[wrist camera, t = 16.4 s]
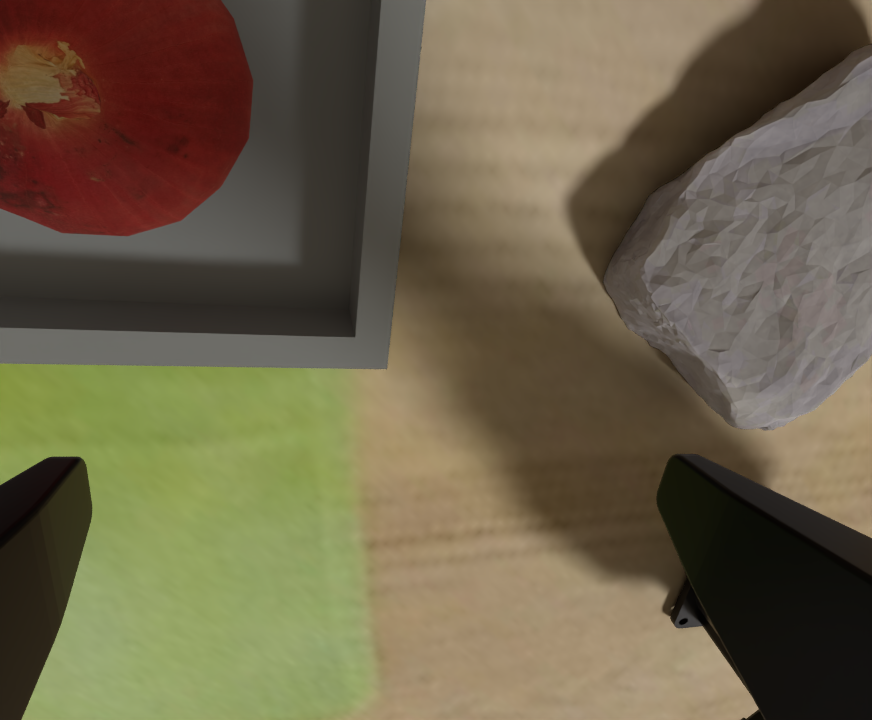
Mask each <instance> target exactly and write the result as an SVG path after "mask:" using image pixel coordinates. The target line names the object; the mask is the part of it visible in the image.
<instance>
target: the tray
mask: <svg viewBox="0 0 872 720" xmlns="http://www.w3.org/2000/svg"><path fill="white" fill-rule="evenodd" d="M221 1H222V2H223V4H224V5H225V7H226V8H227V10H228V11H229V12H230V14H231V15H232V17H233V18H234V21H235V24H236V27H237V30H238V34H239V37H240V40H241V43H242V46H243V49H244V53H245V56H246V59H247V62H248V65H249V68H250V72H251V75H252V78H253V92H252V106H251V119H250V132H249V139H248V141H247V143H246V145H245V146H244V148H243V150H242V152H241V153H240V155H239V157H238V159H237V160H236V162H235V164H234V166H233V167H232V169H231V171H230V173H229V174H228V176H227V178H226V180H225V181H224V183H223V185H222V186H221V187H220V188H219V189H218V190H217V191H216V192H215V193H213V194H212V195H211V196H210V197H209V198H208V199H206V200H205V201H204V202H203V203H202V204H200V205H199V206H198V207H197V208H196V209H194V210H193V211H192V212H191V213H190V214H188V215H187V216H186V217H185V218H184V219H183V220H181V221H179V222H175V223H172V224H169V225H165V226H162V227H158V228H155V229H151V230H148V231H144V232H141V233H137V234H134V235H131V236H110V235H89V234H68V233H60V232H58V231H55V230H53V229H51V228H48V227H46V226H43V225H41V224H38V223H36V222H33V221H31V220H28V219H26V218H24V217H21V216H18V215H16V214H13V213H11V212H8V211H5V210H3V209H0V363H12V364H78V365H144V366H210V367H276V368H343V369H387V364H388V354H389V345H390V335H391V326H392V317H393V307H394V298H395V288H396V279H397V269H398V260H399V250H400V241H401V231H402V222H403V213H404V203H405V194H406V184H407V175H408V165H409V156H410V146H411V137H412V127H413V118H414V109H415V99H416V90H417V80H418V71H419V61H420V52H421V42H422V33H423V23H424V14H425V5H426V0H221Z"/></svg>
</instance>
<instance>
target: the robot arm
mask: <svg viewBox="0 0 872 720" xmlns="http://www.w3.org/2000/svg"><path fill="white" fill-rule="evenodd" d="M656 500H657V506H658V509H659V512H660V514H661V516H662V519H663V521H664V523H665V526H666V528H667V530H668V533H669V535H670V537H671V540H672V542H673V544H674V547H675V549H676V551H677V554H678V556H679V558H680V561H681V563H682V565H683V568H684V570H685V572H686V574H687V580H686V582H685V584H684V586H683V589H682V591H681V593H680V596H679V598H678V600H677V603H676V605H675V607H674V610H673V612H672V614H671V617H670V619H671V621H672V623H673V624H674V626H675V627H676V628H688V627H698V626H703V627H704V629H705V630H706V631H707V633H708V634H709V636H710V637H711V639H712V640H713V641H714V643H715V644H716V646H717V647H718V649H719V650H720V651H721V653H722V654H723V656H724V657H725V659H726V660H727V661H728V663H729V664H730V666H731V667H732V668H733V670H734V671H735V673H736V674H737V676H738V677H739V678H740V680H741V681H742V683H743V684H744V686H745V687H746V688H747V690H748V691H749V693H750V694H751V696H752V697H753V699H754V701H755V703H756V705H757V706H758V708H759V710H757V711H756V712H755V713H753V714H752V715H751V716H749V717H748V718H747V719H745V718H742V719H741V720H872V538H870V537H868V536H866V535H864V534H862V533H860V532H858V531H856V530H853V529H851V528H849V527H847V526H845V525H843V524H841V523H839V522H837V521H835V520H833V519H831V518H828V517H826V516H824V515H822V514H820V513H818V512H816V511H814V510H812V509H810V508H808V507H806V506H804V505H801V504H799V503H797V502H795V501H793V500H791V499H789V498H787V497H785V496H783V495H781V494H779V493H776V492H774V491H772V490H770V489H768V488H766V487H764V486H762V485H760V484H758V483H756V482H754V481H752V480H749V479H747V478H745V477H743V476H741V475H739V474H737V473H735V472H733V471H731V470H729V469H727V468H724V467H722V466H720V465H718V464H716V463H714V462H712V461H710V460H708V459H706V458H704V457H702V456H699V455H696V454H675V455H673V456H672V457H671V458H670V459H669V460H668V462H667V465H666V468H665V471H664V474H663V477H662V479H661V482H660V485H659V488H658V491H657V496H656ZM91 518H92V501H91V494H90V487H89V480H88V474H87V467H86V464H85V462H84V460H83V459H82V458H80V457H49V458H46V459H44V460H43V461H41V462H39V463H37V464H36V465H34V466H32V467H31V468H29V469H27V470H25V471H24V472H22V473H20V474H19V475H17V476H15V477H13V478H12V479H10V480H8V481H7V482H5V483H3V484H2V485H0V720H21V719H22V717H23V715H24V712H25V710H26V707H27V705H28V703H29V700H30V698H31V696H32V693H33V691H34V688H35V686H36V684H37V681H38V679H39V677H40V674H41V672H42V670H43V667H44V665H45V662H46V660H47V658H48V655H49V653H50V651H51V648H52V646H53V643H54V641H55V638H56V636H57V633H58V631H59V628H60V626H61V623H62V619H63V616H64V613H65V610H66V607H67V603H68V600H69V596H70V593H71V589H72V586H73V582H74V579H75V575H76V572H77V568H78V565H79V561H80V558H81V554H82V551H83V547H84V544H85V540H86V537H87V533H88V530H89V526H90V523H91Z"/></svg>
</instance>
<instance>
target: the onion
mask: <svg viewBox="0 0 872 720" xmlns="http://www.w3.org/2000/svg"><path fill="white" fill-rule="evenodd" d="M252 92H253V78H252V75H251V72H250V68H249V65H248V62H247V59H246V56H245V53H244V49H243V46H242V43H241V40H240V37H239V34H238V30H237V27H236V24H235V21H234V18H233V17H232V15H231V14H230V12H229V11H228V10H227V8H226V7H225V5H224V4H223V2H222V1H221V0H0V209H3V210H5V211H8V212H11V213H13V214H16V215H18V216H21V217H24V218H26V219H28V220H31V221H33V222H36V223H38V224H41V225H43V226H46V227H48V228H51V229H53V230H55V231H58V232H60V233H68V234H89V235H110V236H131V235H134V234H137V233H141V232H144V231H148V230H151V229H155V228H158V227H162V226H165V225H169V224H172V223H175V222H179V221H181V220H183V219H184V218H185V217H186V216H187V215H188V214H190V213H191V212H192V211H193V210H194V209H196V208H197V207H198V206H199V205H200V204H202V203H203V202H204V201H205V200H206V199H208V198H209V197H210V196H211V195H212V194H213V193H215V192H216V191H217V190H218V189H219V188H220V187H221V186H222V185H223V183H224V181H225V180H226V178H227V176H228V174H229V173H230V171H231V169H232V167H233V166H234V164H235V162H236V160H237V159H238V157H239V155H240V153H241V152H242V150H243V148H244V146H245V145H246V143H247V141H248V139H249V132H250V119H251V106H252Z"/></svg>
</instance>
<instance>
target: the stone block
mask: <svg viewBox="0 0 872 720" xmlns="http://www.w3.org/2000/svg"><path fill="white" fill-rule="evenodd" d="M603 283H604V285H605V287H606V290H607V293H608V294H609V295H610V296H611V297H612V299H613V301H614V303H615V305H616V307H617V309H618V311H619V314H620V316H621V319H622V320H623V321H624V322H625V324H626V326H627V328H628V329H629V330H632V331H633V332H635V333H636V334H638V335H639V336H641V337H643V338H644V339H645V340H647V341H648V343H649V345H650V346H652V347H655V348H657V349H660V350H661V351H662V352H663V353H665V354H666V355H667V356H668V357H669V358H670V359H671V362H672V364H673V365H674V366H675V367H676V369H677V370H678V371H679V372H680V373H681V375H682V376H683V377H684V378H685V380H686V381H687V382H688V383H689V385H690V386H691V387H692V388H693V389H694V390H695V391H696V393H697V394H698V395H699V396H701V397H702V398H703V399H704V400H705V402H706V403H707V405H708V406H709V407H711V408H712V409H713V410H714V411H715V412H716V413H718V414H719V415H720V416H722V417H723V419H724V420H725V421H726V422H727V423H728V424H729V425H731V426H733V427H736V428H740V429H756V428H759V429H762V430H774V429H775V428H776V427H781V426H785V425H786V424H787V423H788V422H791V421H793V420H794V419H796V418H797V417H798V416H800V415H804V414H807V413H809V412H811V411H813V410H815V409H816V408H817V407H818V406H819V405H821V404H822V403H823V402H824V401H825V400H826V399H827V398H828V397H829V396H831V395H833V394H834V393H835V392H836V391H837V389H838V388H839V387H840V386H841V385H842V384H843V383H844V382H845V381H846V380H847V379H849V378H850V377H851V376H853V374H854V373H855V372H856V370H858V369H859V368H860V367H861V366H862V365H863V364H865V363H866V362H867V361H868V359H869V358H870V356H871V354H872V44H870V45H866V46H864V47H862V48H860V49H857V50H855V51H853V52H851V53H850V54H849V55H848V56H847V57H846V58H845V59H844V60H843V61H842V62H841V63H839V64H838V65H836V66H835V67H833V68H832V69H830V70H829V71H827V72H825V73H824V74H822V75H821V76H820V77H819V78H818V79H817V80H816V81H815V82H813V83H812V84H811V85H809V86H808V87H807V88H805V89H804V90H803V91H801V92H800V93H799V94H797V95H796V96H794V97H793V98H791V99H789V100H787V101H784V102H781V103H779V104H778V105H777V106H776V107H775V108H774V109H772V110H770V111H769V112H767V113H765V114H763V116H762V117H761V118H760V119H759V120H758V121H757V122H755V123H754V124H753V125H752V126H751V127H749V128H747V129H745V130H743V131H741V132H739V133H737V134H736V135H734V136H733V137H731V138H730V139H729V140H727V141H726V142H725V143H724V144H723V145H721V146H720V147H719V148H718V149H716V150H714V151H711V152H710V153H708V154H706V155H705V156H704V157H703V158H702V159H701V160H699V161H698V162H696V163H695V165H693V166H692V167H690V168H689V169H688V170H687V171H686V172H684V173H683V174H681V175H680V176H679V177H677V178H675V179H674V180H672V181H670V182H669V183H667V184H665V185H663V186H661V187H659V188H658V189H657V190H656V191H655V192H653V193H652V194H651V195H650V196H648V198H647V200H646V202H645V204H644V207H643V209H642V210H641V212H640V214H639V215H638V217H637V218H636V220H635V221H634V223H633V224H632V225H631V227H630V229H629V230H628V231H627V233H626V235H625V237H624V239H623V240H622V242H621V244H620V246H619V247H618V249H617V250H616V252H615V253H614V255H613V257H612V259H611V261H610V263H609V265H608V268H607V270H606V273H605V275H604V280H603Z"/></svg>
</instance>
